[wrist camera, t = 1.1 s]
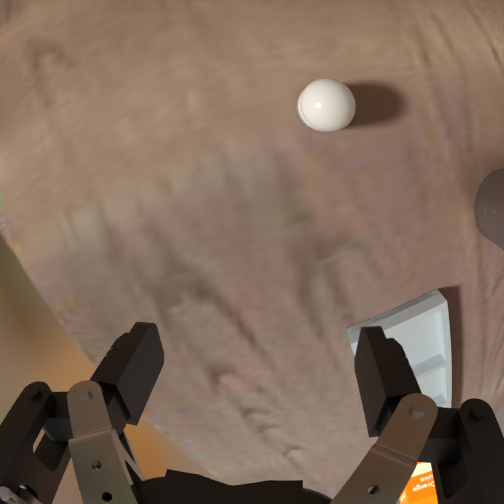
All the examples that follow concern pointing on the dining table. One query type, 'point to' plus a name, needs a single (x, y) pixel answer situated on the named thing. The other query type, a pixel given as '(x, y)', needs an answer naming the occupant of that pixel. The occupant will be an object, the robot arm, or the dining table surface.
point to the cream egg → (326, 105)
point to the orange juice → (420, 486)
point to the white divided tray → (420, 342)
